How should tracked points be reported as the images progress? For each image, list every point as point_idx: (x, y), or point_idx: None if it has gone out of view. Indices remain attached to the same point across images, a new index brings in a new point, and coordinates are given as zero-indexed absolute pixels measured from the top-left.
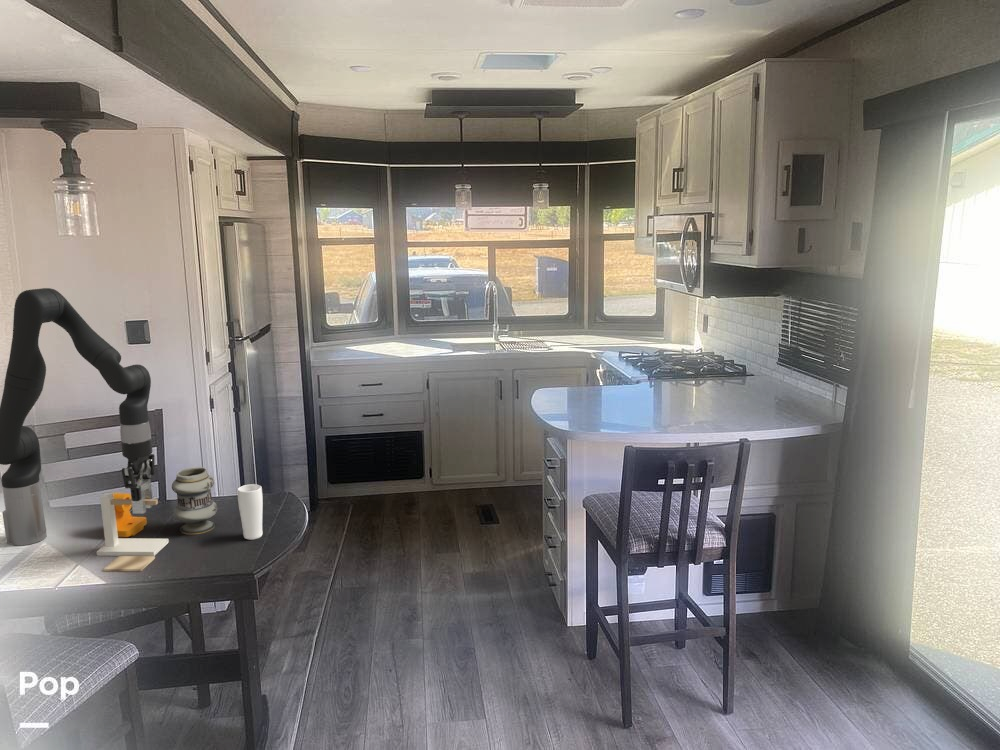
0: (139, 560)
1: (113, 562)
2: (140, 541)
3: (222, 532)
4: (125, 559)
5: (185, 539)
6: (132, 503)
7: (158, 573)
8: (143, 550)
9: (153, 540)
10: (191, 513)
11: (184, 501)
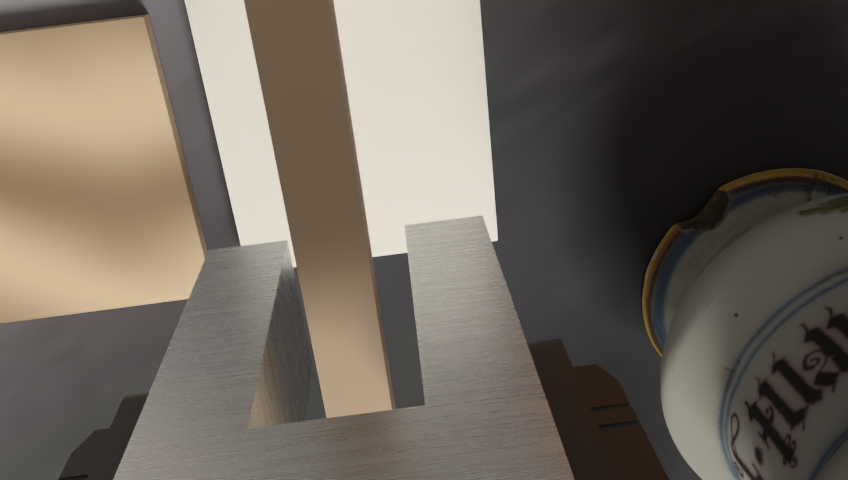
0: (117, 232)
1: (20, 52)
2: (416, 49)
3: (681, 466)
4: (101, 115)
5: (557, 308)
6: (182, 331)
7: (20, 430)
8: (252, 184)
9: (449, 148)
10: (692, 436)
11: (773, 450)
